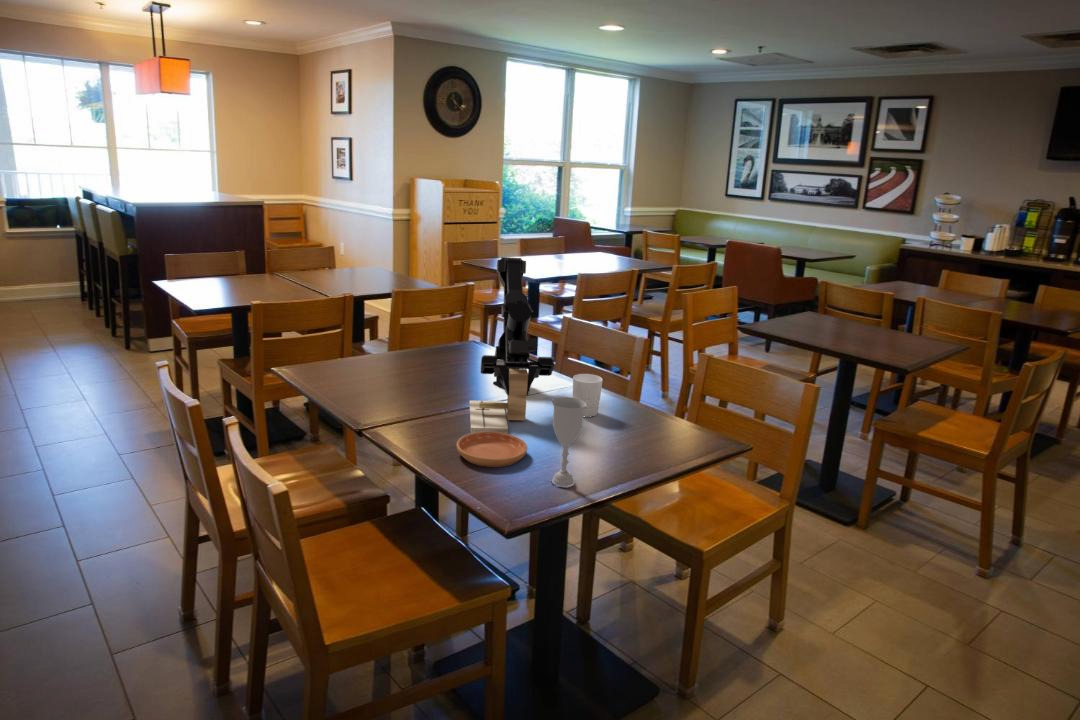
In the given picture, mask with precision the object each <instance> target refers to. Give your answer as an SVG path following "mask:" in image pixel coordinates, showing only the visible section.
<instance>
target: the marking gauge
mask: <svg viewBox="0 0 1080 720" xmlns="http://www.w3.org/2000/svg"><path fill="white" fill-rule="evenodd" d="M527 383H528V369H509V380H508V384H509V396H507V400H506V402H503V403H489V402H480V403H479V408H482V410H484V408H487V409H504V410H506V420H507V421H526V413H527V412H526V411H527V397H528V396H527Z"/></svg>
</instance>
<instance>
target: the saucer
mask: <svg viewBox="0 0 1080 720" xmlns="http://www.w3.org/2000/svg"><path fill="white" fill-rule="evenodd" d="M456 451H457V452H458V454H460V456H462V458H464V460H466V461H467V462H469V463H471V464H472V465H475V464H476V466H480V467H484V466H485V467H486V468H503V467H507V465H508V466H511V465H513V463H514V464H516V463H517V462H519V461H520V460H522V458H524V457H525V456H526V455H527V451H528V445H527V443H526V442H525V441H524V440H523V439H521V438H520V437H518V436H515V435H512V434H509V433H508V434H506V433H500V432H476V433H471V432H470V433H468V434H465V435H463V436H461V437H459V438H458V440H457V441H456ZM515 462H516V463H515ZM502 466H503V467H502Z"/></svg>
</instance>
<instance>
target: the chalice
mask: <svg viewBox="0 0 1080 720" xmlns="http://www.w3.org/2000/svg"><path fill="white" fill-rule="evenodd" d="M551 403H552V406H553V415H552V417H553V418H552V427H553V430H554V434H555V436H556V438H557V441H558V443H559V445H562V447H563V448H562V452H561V453H560V454H561V455H562V458H561V460H559V462H560V463H561V468H560V469H559V470H557V471H556V472H555V473H554V475H553V477H552V479H551V481H552V482H553V483H554V484H556V485H560V486H568V485H571V484H573V481H574V478H573V475H572V473H571V472H570V471H569V470H567V465H568V464H569V463H570V462H569V461H568V456H569V455H570V453H569V446H572V445H573V444H574V443H575V441H576V440H577V438H578V436H579V435H580V432H581V430H582V428H583V423H584V422H583V420H584V417H583V411H584V408H585V407H586V405H587V404H586V402H585V401H583V400H580V399H577V398H573V396H572V397H571V396H559V397H558V396H557V397H555V398H553V399H552V400H551Z"/></svg>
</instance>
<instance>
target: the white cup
mask: <svg viewBox="0 0 1080 720" xmlns="http://www.w3.org/2000/svg"><path fill="white" fill-rule="evenodd" d="M602 385H603V378H602V377H601V376H599V375H596V374H592V373H578V374H575V375H573V377H572V398H577V399H580V400H583V401H585V402H586V404H587V405H586V407H585V408H584V411H583V416H585V417H584V418H591V417H590V416H594V417H596V416H598V412H599V406H600V400H601V395H602V394H601V393H602V388H603V387H602ZM595 415H596V416H595ZM587 416H588V417H587Z"/></svg>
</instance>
